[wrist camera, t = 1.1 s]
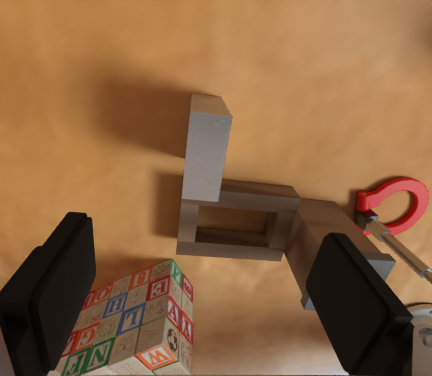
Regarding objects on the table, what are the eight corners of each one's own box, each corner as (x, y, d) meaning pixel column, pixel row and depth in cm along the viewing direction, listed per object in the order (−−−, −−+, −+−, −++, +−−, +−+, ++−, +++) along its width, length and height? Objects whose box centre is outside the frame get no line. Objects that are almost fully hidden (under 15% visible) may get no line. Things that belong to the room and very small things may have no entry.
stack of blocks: (71, 334, 42) (26, 434, 31) (42, 310, 39) (-17, 411, 28) (194, 286, 39) (193, 378, 28) (173, 256, 36) (162, 346, 25)
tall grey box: (221, 97, 27) (232, 116, 19) (212, 161, 30) (217, 201, 22) (191, 93, 27) (190, 111, 19) (185, 158, 30) (181, 198, 22)
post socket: (318, 249, 37) (362, 320, 27) (177, 238, 34) (170, 312, 25) (341, 191, 33) (402, 250, 23) (183, 175, 31) (178, 234, 21)
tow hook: (427, 169, 33) (354, 185, 33) (558, 231, 21) (447, 257, 21) (416, 224, 37) (351, 238, 37) (522, 301, 25) (428, 323, 25)
